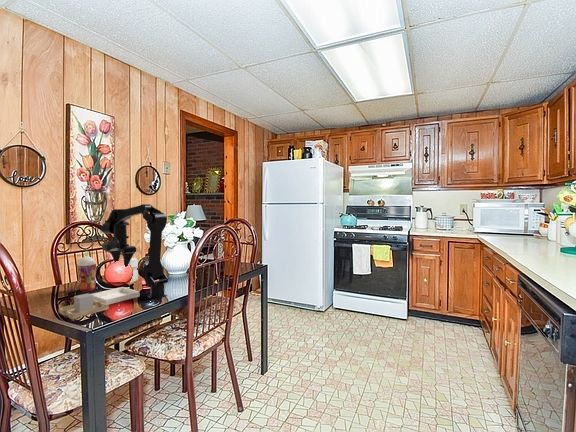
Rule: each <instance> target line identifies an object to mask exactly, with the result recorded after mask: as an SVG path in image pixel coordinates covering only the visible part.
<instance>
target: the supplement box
mask: <svg viewBox="0 0 576 432" xmlns="http://www.w3.org/2000/svg"><path fill="white" fill-rule="evenodd" d="M121 260H122V261H124V258H122V259H121ZM138 262H139V261H138V258H136V257H135V258H134V257H133V258H131V260H130V262H129V264H130V265H131V267H132V269H133V276H132V279H131V281H130V283H129V284H131V283H133V282H136V281H139V269H138V270H137V268H138V267H139V265H138Z"/></svg>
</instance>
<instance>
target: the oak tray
mask: <svg viewBox="0 0 576 432" xmlns="http://www.w3.org/2000/svg"><path fill="white" fill-rule="evenodd" d="M93 308H94V309H91V310H87V311H83V312H79V313H78V312H76V311H75V308H74V303H73V304H70V305H65V306H62V307H58V314H60V315H62V316H63V317H67V318H69V319H70V320H72V321H73V320H77V319H80V318H82V317H85V316H88V315H92V314H96V313H99V312H100V313H101V312H103V311H107V310H110V304H109V305H107V304H104V303H101V302H99V301H96V300H93Z"/></svg>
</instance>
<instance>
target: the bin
mask: <svg viewBox="0 0 576 432" xmlns="http://www.w3.org/2000/svg"><path fill="white" fill-rule="evenodd" d="M90 294H91V295H93V300H96V301H99V302H101V303H104V304H107V305H109V306H110V305H112V304H116V303H120V302H124V301H128V300H131V299H135V298H139V297H140V291H138V290H135V289H132V288H128V287H124V286H121V287H116V288H112V289H107V290H104V291H98V292H94V293H90Z"/></svg>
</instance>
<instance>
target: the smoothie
mask: <svg viewBox="0 0 576 432" xmlns="http://www.w3.org/2000/svg"><path fill="white" fill-rule="evenodd" d="M76 269H77V277H78V278H77V279H78V287H79V290H80V292H82V293H83V292H84V293H85V292H87V293H88V292H92V291H94V290H95V288H96V283H97V281H96V282H95V276H96V277H97V262H96V261H95V259H94V258H93V257H92V256H88V250H86V251H85V256H83V257H82V258H79V260H78V262H77V264H76Z"/></svg>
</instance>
